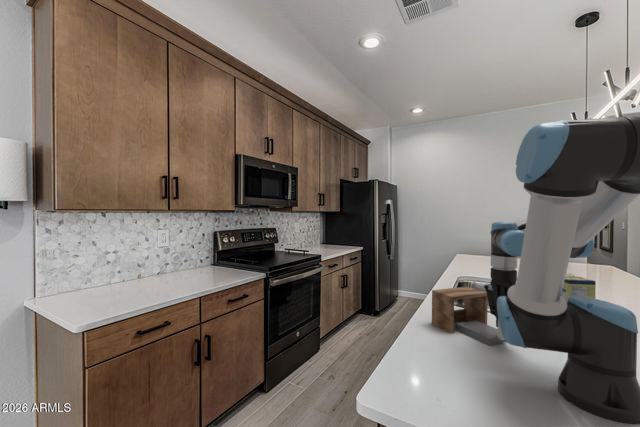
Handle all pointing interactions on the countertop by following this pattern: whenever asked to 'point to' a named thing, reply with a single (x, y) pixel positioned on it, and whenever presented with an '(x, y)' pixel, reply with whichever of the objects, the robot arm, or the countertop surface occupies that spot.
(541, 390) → the countertop surface
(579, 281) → the protein box
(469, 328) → the slate board
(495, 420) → the countertop surface
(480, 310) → the walnut shelf
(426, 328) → the countertop surface
